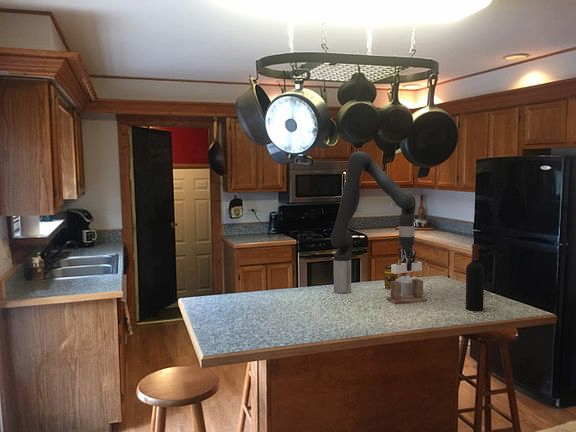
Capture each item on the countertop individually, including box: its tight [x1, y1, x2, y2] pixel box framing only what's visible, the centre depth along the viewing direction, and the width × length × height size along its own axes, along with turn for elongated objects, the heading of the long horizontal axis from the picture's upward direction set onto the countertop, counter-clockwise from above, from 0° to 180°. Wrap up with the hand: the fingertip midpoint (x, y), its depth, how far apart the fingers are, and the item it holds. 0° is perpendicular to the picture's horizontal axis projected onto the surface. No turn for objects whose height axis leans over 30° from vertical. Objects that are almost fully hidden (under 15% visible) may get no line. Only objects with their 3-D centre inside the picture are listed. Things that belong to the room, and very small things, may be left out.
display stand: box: [386, 278, 428, 305], centre depth 238 cm, size 10×17×10 cm, turn 106°
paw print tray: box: [396, 275, 418, 295], centre depth 252 cm, size 10×13×9 cm
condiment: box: [383, 265, 397, 290], centre depth 263 cm, size 7×8×12 cm
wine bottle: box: [465, 243, 485, 312], centre depth 219 cm, size 8×8×30 cm
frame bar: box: [390, 260, 423, 275], centre depth 236 cm, size 16×4×4 cm, turn 116°
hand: (406, 269), depth 237 cm, fingers closed on frame bar, 4 cm apart
